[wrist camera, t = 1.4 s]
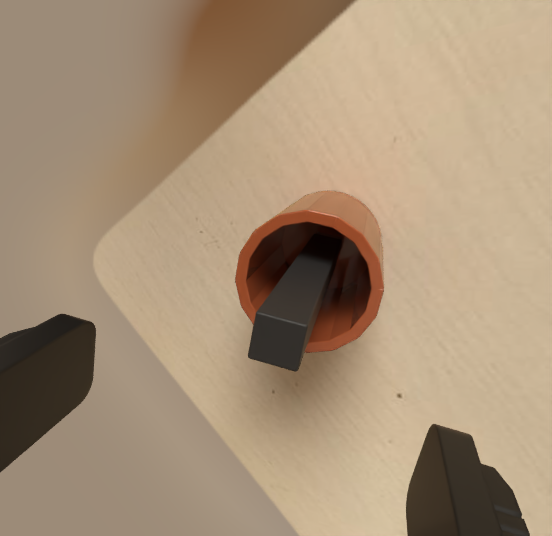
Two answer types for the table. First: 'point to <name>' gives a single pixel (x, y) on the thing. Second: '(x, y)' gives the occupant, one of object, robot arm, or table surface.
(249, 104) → the table surface
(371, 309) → the pen cup
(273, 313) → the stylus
